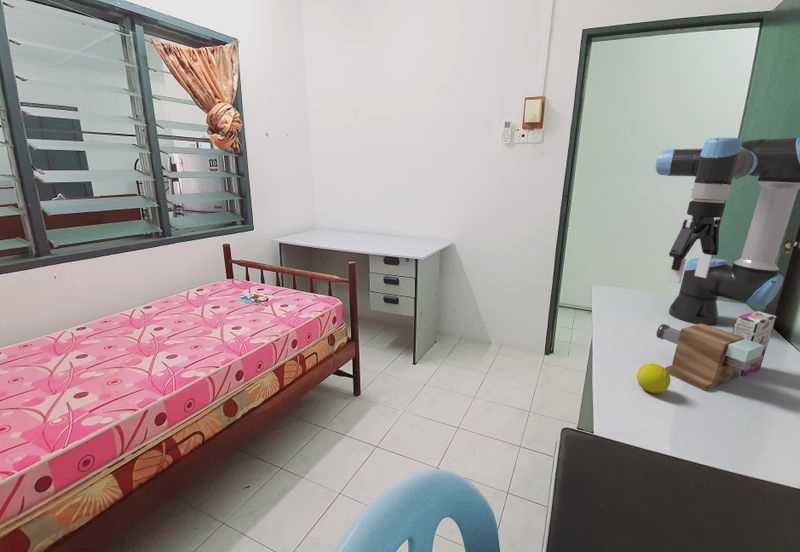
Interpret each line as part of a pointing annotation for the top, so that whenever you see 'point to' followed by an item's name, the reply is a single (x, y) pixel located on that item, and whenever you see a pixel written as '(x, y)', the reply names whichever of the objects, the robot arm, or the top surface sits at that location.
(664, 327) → the shaft
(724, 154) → the robot arm
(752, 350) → the block
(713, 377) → the bearing block
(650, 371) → the tennis ball
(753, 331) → the candy bar box
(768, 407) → the top surface
